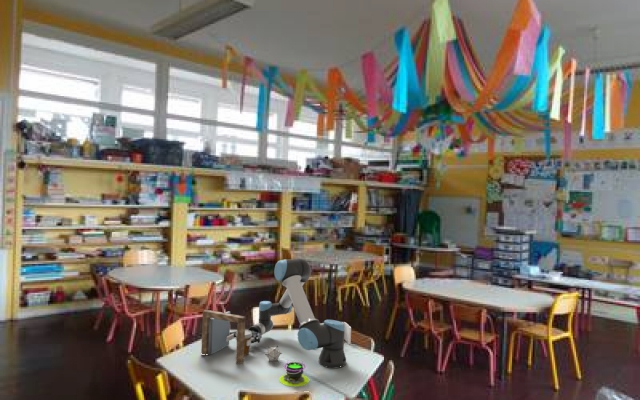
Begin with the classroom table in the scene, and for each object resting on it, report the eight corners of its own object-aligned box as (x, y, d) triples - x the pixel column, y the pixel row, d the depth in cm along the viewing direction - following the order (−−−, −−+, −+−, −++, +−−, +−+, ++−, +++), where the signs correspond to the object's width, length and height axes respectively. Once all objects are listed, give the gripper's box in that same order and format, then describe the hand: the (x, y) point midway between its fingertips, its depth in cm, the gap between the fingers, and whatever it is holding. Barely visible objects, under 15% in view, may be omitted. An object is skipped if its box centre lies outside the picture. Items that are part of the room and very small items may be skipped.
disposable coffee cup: (250, 349, 268) (251, 329, 268) (252, 356, 259) (252, 335, 258) (234, 350, 266) (235, 330, 266) (235, 356, 257) (235, 335, 256)
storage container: (344, 339, 295) (345, 322, 295) (350, 345, 284) (351, 327, 284) (306, 341, 288) (307, 323, 287) (311, 347, 277) (312, 329, 277)
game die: (274, 368, 252) (278, 358, 246) (261, 361, 253) (264, 351, 247) (282, 356, 259) (285, 346, 252) (268, 349, 260) (271, 339, 254)
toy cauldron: (273, 378, 231) (274, 357, 230) (296, 371, 241) (297, 350, 240) (291, 389, 220) (292, 367, 219) (315, 381, 230) (316, 359, 229)
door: (209, 355, 256) (211, 319, 255) (204, 354, 257) (205, 318, 256) (229, 344, 273) (230, 311, 272) (224, 343, 274) (225, 310, 273)
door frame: (243, 362, 250) (245, 316, 249) (240, 363, 247) (242, 318, 246) (204, 353, 260) (206, 309, 259) (201, 354, 257) (202, 310, 256)
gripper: (274, 340, 275) (255, 351, 255) (238, 333, 284) (218, 344, 265) (274, 328, 274) (256, 338, 255) (239, 321, 284) (218, 331, 264)
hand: (237, 341), depth 260 cm, fingers open, 13 cm apart
